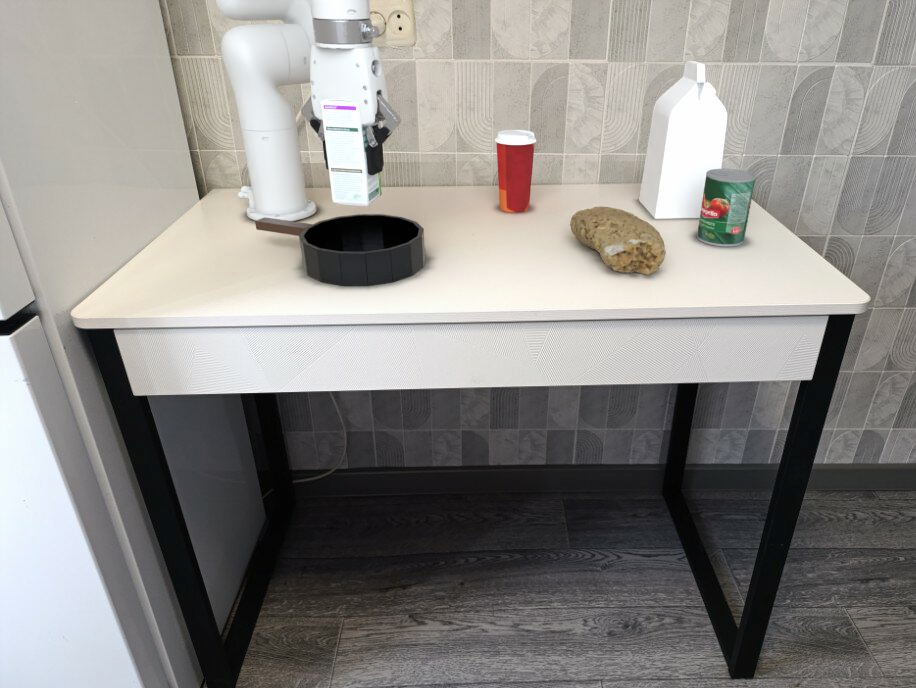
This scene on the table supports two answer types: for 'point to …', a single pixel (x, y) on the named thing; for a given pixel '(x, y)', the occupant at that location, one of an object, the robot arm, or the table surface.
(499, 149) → the paper cup
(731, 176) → the canned tomato
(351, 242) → the pan
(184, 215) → the table surface
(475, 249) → the table surface
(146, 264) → the table surface
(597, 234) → the sponge
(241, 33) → the robot arm
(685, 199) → the milk
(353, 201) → the syrup box
